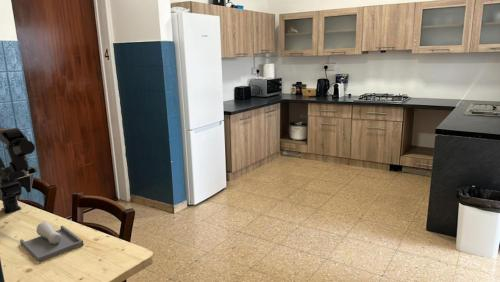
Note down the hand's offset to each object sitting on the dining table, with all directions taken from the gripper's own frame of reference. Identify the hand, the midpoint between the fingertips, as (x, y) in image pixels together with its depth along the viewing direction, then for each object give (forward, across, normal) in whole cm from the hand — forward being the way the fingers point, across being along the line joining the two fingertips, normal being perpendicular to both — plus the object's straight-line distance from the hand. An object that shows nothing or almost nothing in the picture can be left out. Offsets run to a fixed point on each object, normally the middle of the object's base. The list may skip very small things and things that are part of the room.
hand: (29, 192), depth 157 cm
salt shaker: (+14, +14, +5) cm, 20 cm away
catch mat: (+20, +23, +9) cm, 32 cm away
